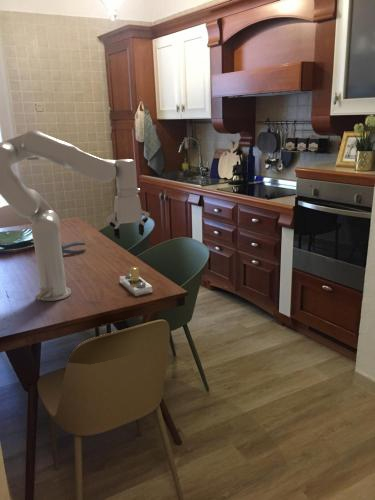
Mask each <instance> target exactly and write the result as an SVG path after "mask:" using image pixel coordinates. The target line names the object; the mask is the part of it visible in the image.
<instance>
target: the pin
mask: <svg viewBox="0 0 375 500" xmlns="http://www.w3.org/2000/svg"><path fill="white" fill-rule="evenodd" d="M139 270H140V269H139V267H138V266H132V267H130V268H129V273H130V277H131V285H132V284H136V283H138V282H139V277H140V271H139Z"/></svg>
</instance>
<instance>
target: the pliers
mask: <svg viewBox="0 0 375 500" xmlns="http://www.w3.org/2000/svg"><path fill="white" fill-rule="evenodd" d="M77 246H86V243H85V242H83V241H82V242H81V241H78V242H77V241H76V242H71V243H68V244H64V245H62V244H61V247H62V255H64V254H71V255H72V254H75V255H76V254H82V253H85V252H86V251H87V250H86V248H84V249H77V250H73V249H71V250H70V249H68V248H71V247H77Z"/></svg>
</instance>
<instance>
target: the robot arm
mask: <svg viewBox="0 0 375 500" xmlns="http://www.w3.org/2000/svg"><path fill="white" fill-rule="evenodd" d="M32 157H35V158H38V159H40V160H44V161H46V162H49V163H52V164H55V165H57V166H60V167H62V168H65V169H67V170H69V171H73V172H76V173H77V174H80V175H83V176H85V177H89V178H91V179H93V180H95V181H99V182H101V183H111V182H112V181H113V180H115V181H116V182H115V183H116V185H115V186H116V196H114V201H113V203H114V204H113V213H111V214H110V215H108V216H107V217H106V221H107V223H108V225H110V226H111V227H112V228H113V235H114V237H115V238H116V239H117V240H119V239H121V237H120V235H121V234H120V229H119V227H120V225H121V224H129V223H135V222H138V235H140V236H141V237H143V236H144V233H145V225H146V223H147V221H149V217H150V212H148V211H145V210H143V209H142V204H141V198H140V196H139V195H138V193H140V192H141V189H140V188H138V187H137V186H138V185H137V183H138V182H137V167H136V166H137V165H136V160H134V159H131V158H130V159H129V158H125V159H124V158H122V159H107V158H106V159H105V158H99V157H97V156H95V155H92V154H90V153H87V152H85V151H83V150H81V149H79V148H78V147H76V145H73V144H71V143H68V142H66V141H64V140H61V139H58V138H55V137H53V136H51V135H48V134H45V133H44V132H42V131H39V130H37V129H35V130H34V129H32V130H28V131H27V132H25V133H22V134H21V135H18V136H15V137H13V138H10V139H7V140H4V141H2V142H0V197H2V198H3V199H4V201H5V202H6V203H7V204H8V205H9V206H10V208H12V210H13V211H14V212H15V213H16V215H18V216H20V217H21V218H27V219H28V220H29V222H30V223H31V224H32V225H31V233H32V234H31V235H32V240H33V245H34V251H35V258H36V264H37V271H38V272H37V273H38V280H39V291H38V292H37V293H36V295H35V299H36V300H40V301H43V302H54V301H59V300H63V299H66V298H67V297H69V296H70V295H71V294H72V290H71V288H70V287H67V282H66V274H65V265H64V256H63V255H64V254H63V255H62V250H63V249H62V247H61V245H62V242H61V241H62V239H61V233H60V232H61V231H60V230H61V228H60V227H61V226H60V225H61V220H60V217H59V215H58V214H57V213H56V211H54V209H53V208H52V207H51V206H50V205H49V204H48V202H47V201H46V200H45V199H44V198H43V196H42V195H41V194H40V193H39V192H38V191H36V190H35V189H33V188H28V187H27V186H26V185H25V184H24V183H23V182H22V180H21V179H20V178H19V177H18V176H17V175H16V174H15V173H14V172H13V170H12V165H15V164H16V163H19V162H22V161H25V160H27V159H30V158H32ZM143 215H144V217H143ZM112 220H114V222H113V221H112Z"/></svg>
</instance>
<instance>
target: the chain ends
mask: <svg viewBox="0 0 375 500" xmlns="http://www.w3.org/2000/svg"><path fill="white" fill-rule="evenodd" d="M119 283H120V284H121V285H122V286H124V287H125V288H126V289H127V290H128V291H129V292H130V293H132V295H134V296H135V297H137V296H141V295H142V296H143V295H145V294H150V293H151V294H152V293H153V285H151V284H150V283H148V282H147V281H146V279H143V278H142V277H141V276H139V282H138V283H136V284H132V285H131V277H130V272H129V273H126V274H125V275H122V276H119Z"/></svg>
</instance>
